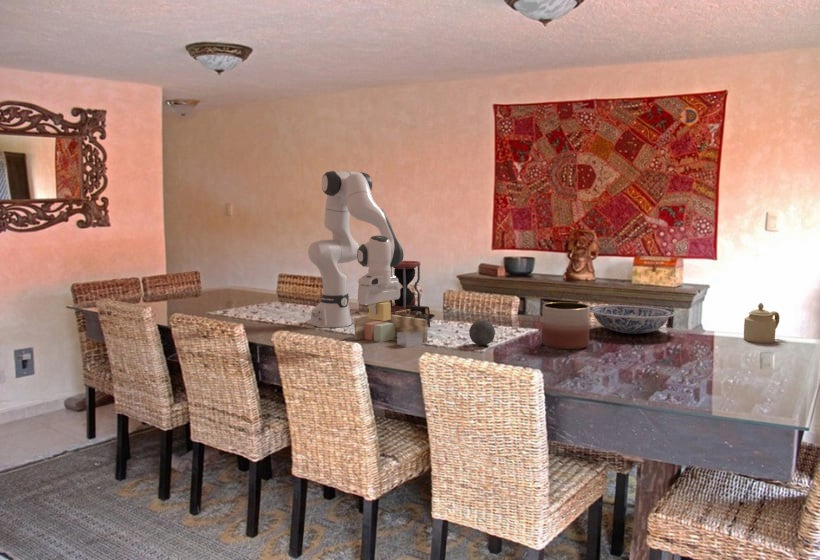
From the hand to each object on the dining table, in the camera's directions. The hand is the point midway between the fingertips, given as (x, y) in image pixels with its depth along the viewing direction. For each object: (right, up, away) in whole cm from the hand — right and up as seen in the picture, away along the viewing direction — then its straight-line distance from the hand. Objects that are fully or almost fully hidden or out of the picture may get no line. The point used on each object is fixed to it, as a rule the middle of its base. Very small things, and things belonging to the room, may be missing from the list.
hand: (379, 313), depth 257 cm
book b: (+1, -11, +12) cm, 17 cm away
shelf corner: (+4, -12, +9) cm, 16 cm away
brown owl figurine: (+14, -9, +30) cm, 34 cm away
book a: (-3, -11, +15) cm, 19 cm away
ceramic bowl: (+105, -10, +21) cm, 107 cm away
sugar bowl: (+152, -11, +6) cm, 152 cm away
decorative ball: (+40, -13, 0) cm, 42 cm away
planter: (+72, -13, -2) cm, 73 cm away
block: (+12, -13, +3) cm, 17 cm away
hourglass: (+9, -3, +81) cm, 81 cm away
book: (0, -2, 0) cm, 2 cm away
